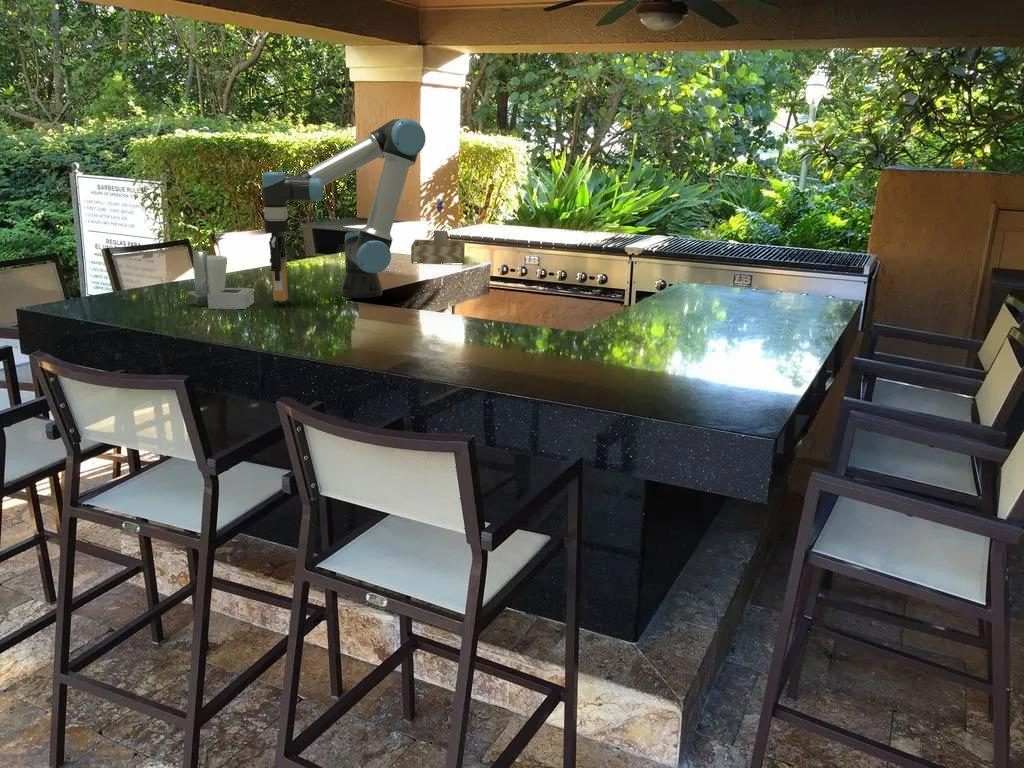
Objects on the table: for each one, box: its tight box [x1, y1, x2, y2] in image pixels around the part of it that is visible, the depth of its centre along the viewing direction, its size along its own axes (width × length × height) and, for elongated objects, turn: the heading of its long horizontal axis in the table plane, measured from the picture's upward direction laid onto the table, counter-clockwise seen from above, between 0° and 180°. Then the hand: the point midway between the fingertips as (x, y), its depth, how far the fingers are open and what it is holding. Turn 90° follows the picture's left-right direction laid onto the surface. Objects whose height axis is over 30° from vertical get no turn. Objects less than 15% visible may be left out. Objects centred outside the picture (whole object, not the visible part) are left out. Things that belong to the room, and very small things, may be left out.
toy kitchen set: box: [423, 229, 450, 247], centre depth 411 cm, size 18×17×15 cm
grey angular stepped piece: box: [187, 250, 255, 310], centre depth 292 cm, size 20×24×18 cm
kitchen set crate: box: [410, 239, 466, 265], centre depth 412 cm, size 24×26×8 cm
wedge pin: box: [269, 256, 289, 302], centre depth 291 cm, size 5×5×14 cm
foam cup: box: [207, 255, 228, 291], centre depth 308 cm, size 10×9×13 cm
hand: (280, 288), depth 292 cm, fingers closed on wedge pin, 4 cm apart
